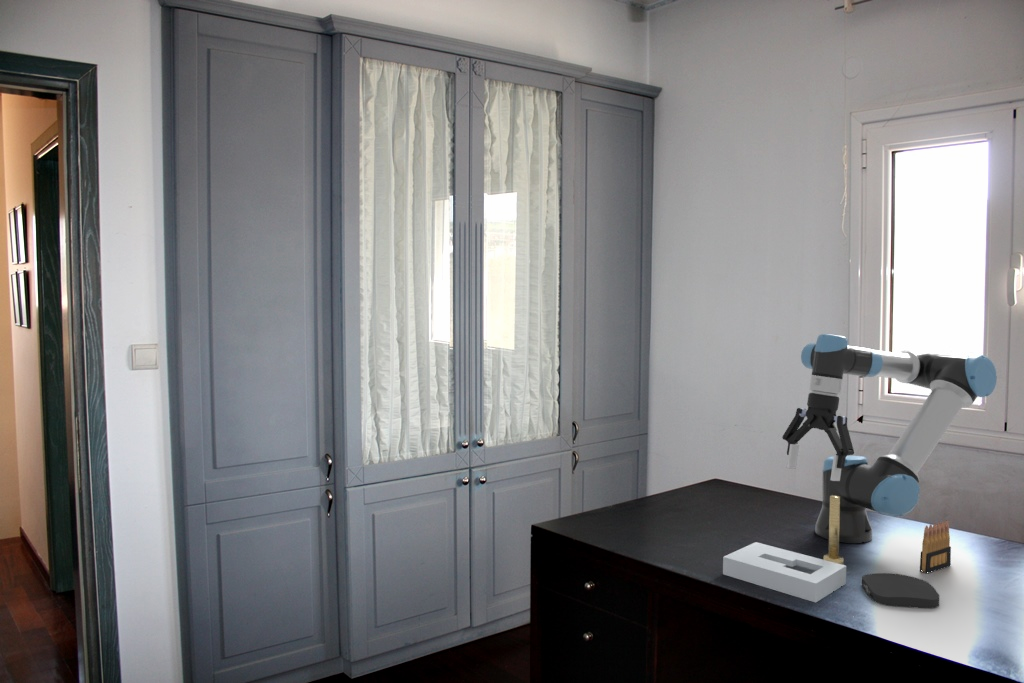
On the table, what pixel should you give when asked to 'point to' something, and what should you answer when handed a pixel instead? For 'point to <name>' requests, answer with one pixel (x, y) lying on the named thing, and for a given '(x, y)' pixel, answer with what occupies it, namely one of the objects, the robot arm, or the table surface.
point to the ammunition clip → (935, 547)
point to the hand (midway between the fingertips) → (812, 474)
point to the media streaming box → (900, 590)
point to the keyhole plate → (785, 571)
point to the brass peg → (834, 531)
